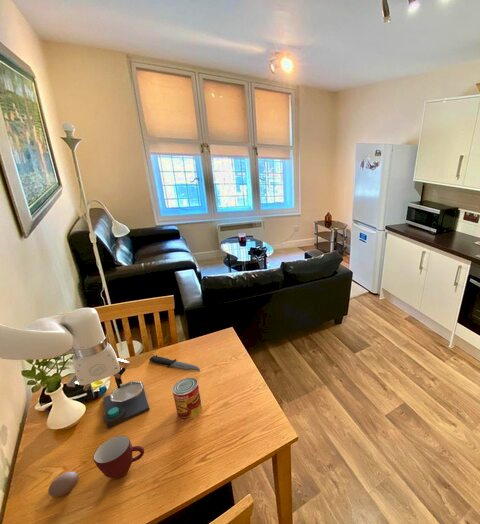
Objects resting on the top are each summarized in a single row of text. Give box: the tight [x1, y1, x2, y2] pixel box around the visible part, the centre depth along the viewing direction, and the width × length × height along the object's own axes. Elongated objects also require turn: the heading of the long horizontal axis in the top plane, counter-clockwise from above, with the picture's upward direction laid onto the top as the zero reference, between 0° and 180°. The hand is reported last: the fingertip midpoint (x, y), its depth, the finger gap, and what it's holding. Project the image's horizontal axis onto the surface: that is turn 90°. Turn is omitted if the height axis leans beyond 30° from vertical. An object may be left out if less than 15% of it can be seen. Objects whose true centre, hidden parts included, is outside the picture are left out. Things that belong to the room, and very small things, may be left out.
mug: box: [93, 435, 145, 480], centre depth 83 cm, size 10×8×10 cm
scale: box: [103, 382, 151, 430], centre depth 104 cm, size 12×15×3 cm
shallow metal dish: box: [109, 380, 144, 404], centre depth 106 cm, size 10×10×1 cm
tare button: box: [108, 407, 119, 418], centre depth 98 cm, size 3×3×2 cm
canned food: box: [171, 376, 203, 421], centre depth 102 cm, size 8×8×12 cm
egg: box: [47, 471, 80, 498], centre depth 79 cm, size 6×6×4 cm
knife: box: [149, 354, 201, 373], centre depth 124 cm, size 25×2×5 cm
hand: (106, 390), depth 94 cm, fingers open, 6 cm apart
